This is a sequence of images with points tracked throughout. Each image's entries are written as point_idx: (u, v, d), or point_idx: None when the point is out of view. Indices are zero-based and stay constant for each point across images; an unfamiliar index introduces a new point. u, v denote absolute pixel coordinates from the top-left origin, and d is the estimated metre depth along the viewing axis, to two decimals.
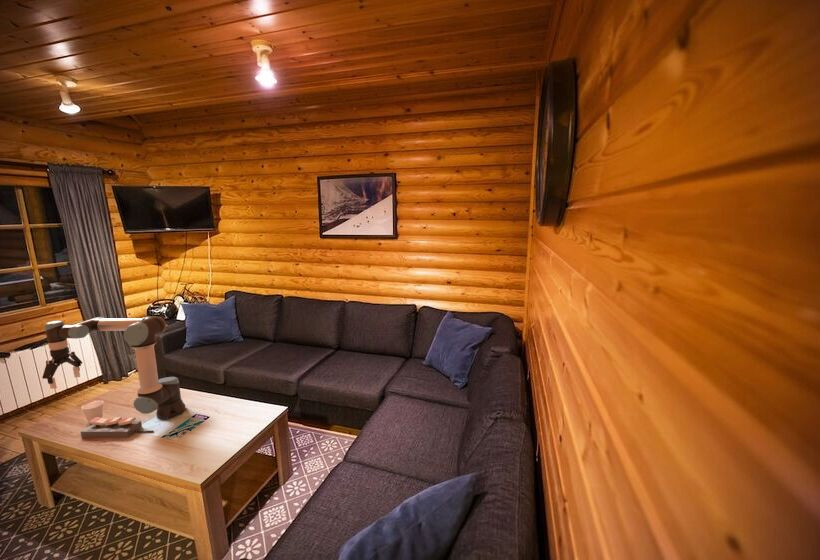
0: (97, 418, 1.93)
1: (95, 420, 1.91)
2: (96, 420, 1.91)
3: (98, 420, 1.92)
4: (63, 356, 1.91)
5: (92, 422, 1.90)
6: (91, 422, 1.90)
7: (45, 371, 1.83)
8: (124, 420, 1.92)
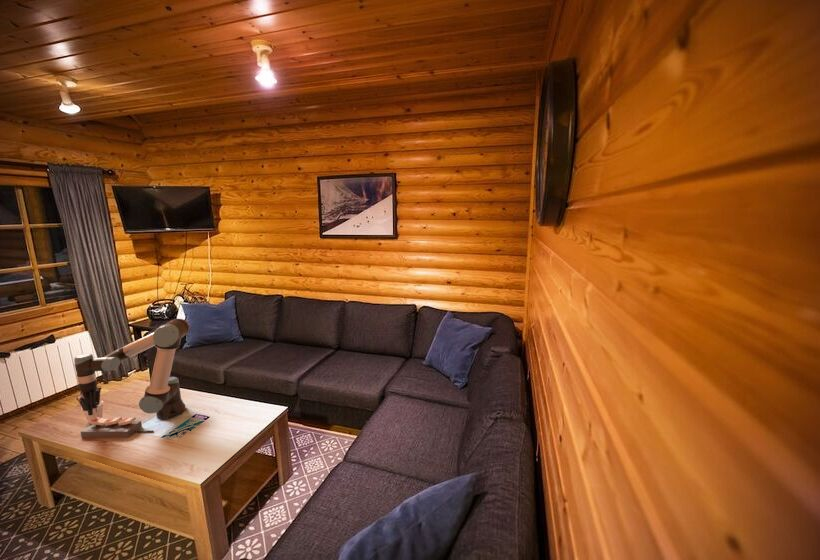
0: (97, 418, 1.93)
1: (95, 420, 1.91)
2: (96, 420, 1.91)
3: (98, 420, 1.92)
4: None
5: (92, 422, 1.90)
6: (91, 422, 1.90)
7: (82, 406, 1.86)
8: (124, 420, 1.92)
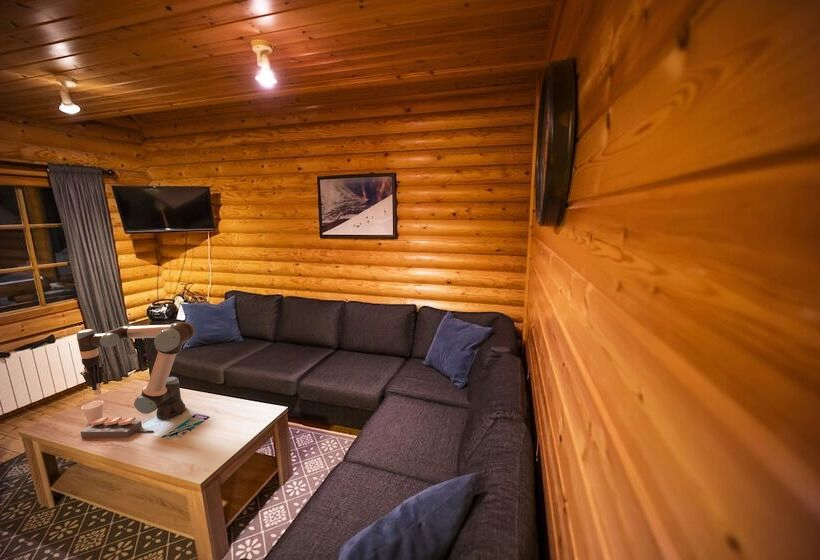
0: (97, 419, 1.93)
1: (95, 421, 1.91)
2: (95, 421, 1.91)
3: (97, 420, 1.92)
4: None
5: (92, 423, 1.90)
6: (91, 424, 1.90)
7: (86, 380, 1.89)
8: (124, 420, 1.92)
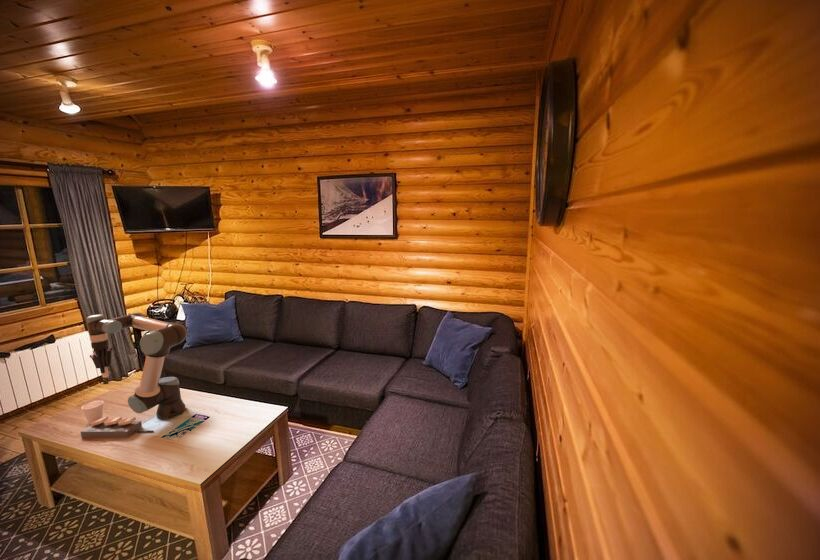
0: (97, 420, 1.93)
1: (95, 421, 1.91)
2: (95, 421, 1.91)
3: (97, 420, 1.92)
4: None
5: (92, 424, 1.90)
6: (92, 424, 1.90)
7: (95, 363, 1.97)
8: (124, 420, 1.92)
